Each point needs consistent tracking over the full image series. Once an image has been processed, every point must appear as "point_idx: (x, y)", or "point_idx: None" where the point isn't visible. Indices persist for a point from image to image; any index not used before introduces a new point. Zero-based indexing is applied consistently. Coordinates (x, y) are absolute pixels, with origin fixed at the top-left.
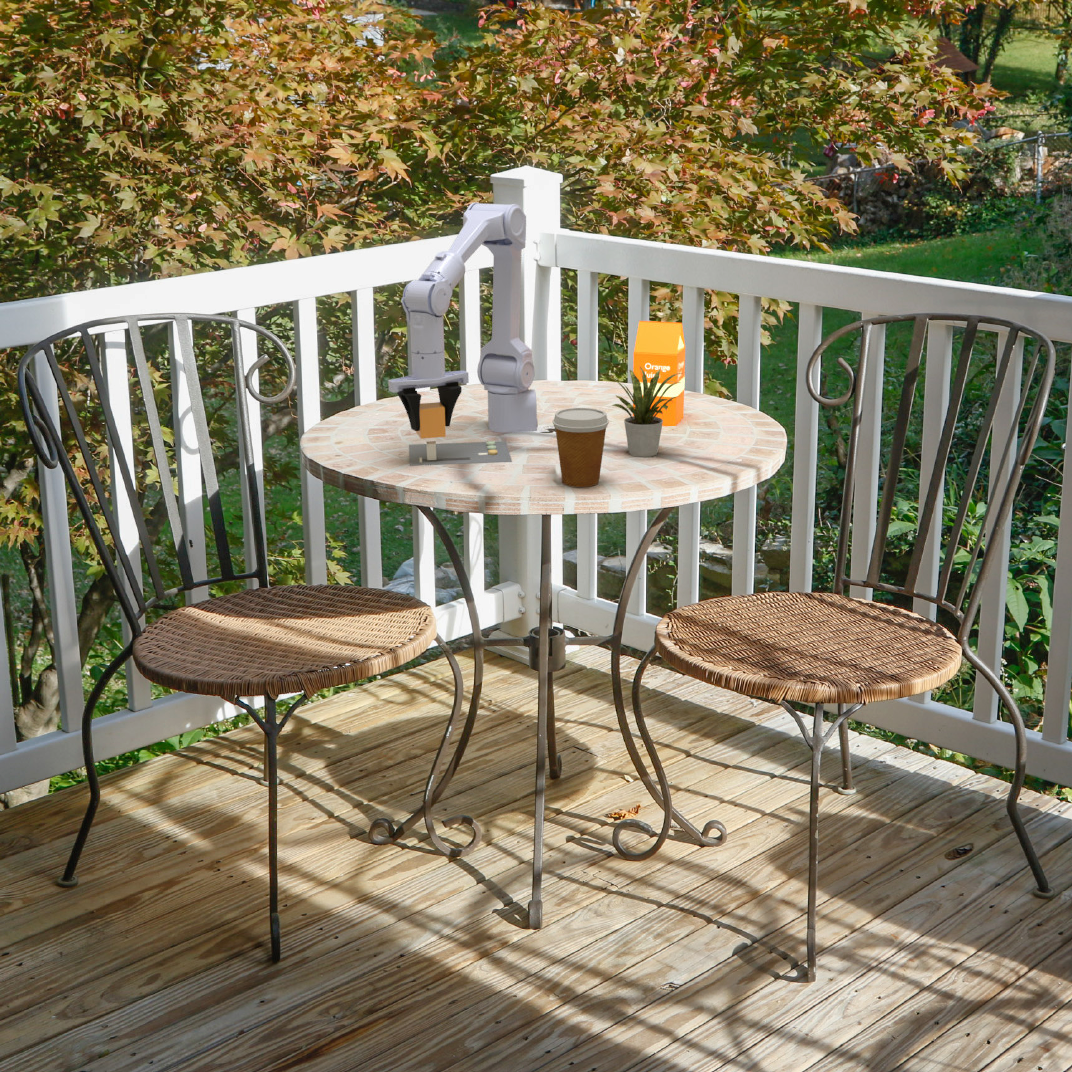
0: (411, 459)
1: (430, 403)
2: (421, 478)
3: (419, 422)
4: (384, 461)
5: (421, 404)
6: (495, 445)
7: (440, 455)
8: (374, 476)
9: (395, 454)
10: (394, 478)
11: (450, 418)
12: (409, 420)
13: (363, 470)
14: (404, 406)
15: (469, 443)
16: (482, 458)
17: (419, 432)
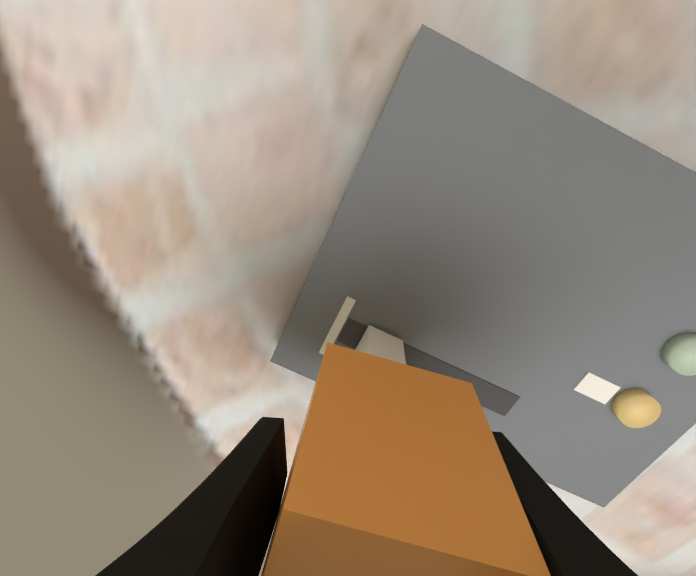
0: (310, 294)
1: (437, 569)
2: (293, 403)
3: (268, 534)
4: (251, 128)
5: (332, 555)
6: None
7: (443, 308)
8: (157, 303)
9: (342, 30)
10: (214, 358)
11: None
12: (232, 452)
13: (136, 210)
14: (132, 553)
15: (694, 200)
16: (551, 429)
17: (297, 446)
